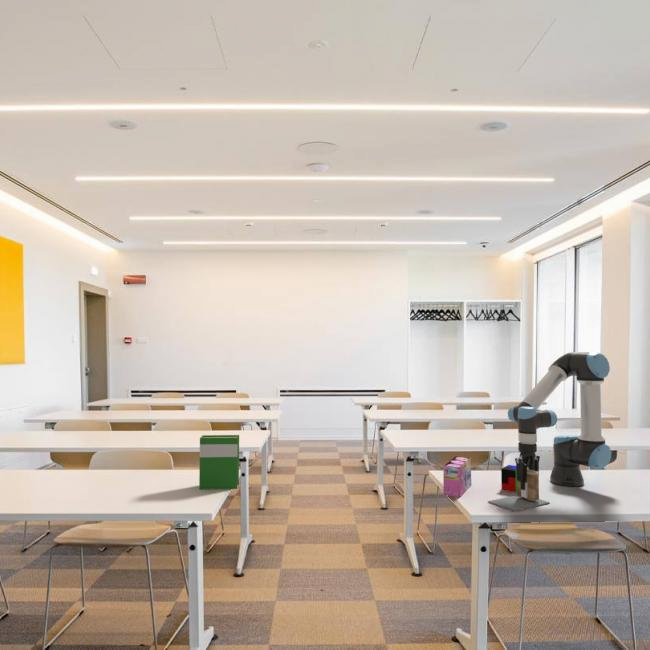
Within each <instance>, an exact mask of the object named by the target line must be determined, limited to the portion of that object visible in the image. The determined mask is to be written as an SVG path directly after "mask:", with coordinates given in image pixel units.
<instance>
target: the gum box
mask: <svg viewBox="0 0 650 650" xmlns="http://www.w3.org/2000/svg"><path fill="white" fill-rule="evenodd" d="M471 460H472V459H471V457H470V456H468V457H467V458H466V457H459V455H455V456H453V457H452V458H451V459H450V460H448V461H447V462H446V463H445V464H443V466H442V467H443V496H448V497H456V498H461V497H462V496H463V495H464V494H465V493H466V492H467V491H468V489H469V488H470V487H471V486H472V465H471V462H472V461H471Z"/></svg>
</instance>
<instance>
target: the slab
mask: <svg viewBox="0 0 650 650" xmlns="http://www.w3.org/2000/svg"><path fill="white" fill-rule="evenodd" d="M539 475H540V471H539V472H538V471H534V470H530V469H527V477H526V482H527V496H528V498H525V497H522V498H525V499H528V500H531V501H535V500H539V499H540V488H539V487H540V485H539V484H540V479H539V477H540V476H539ZM517 491H518V493H517V495H518V497H521V483H520V481H517Z"/></svg>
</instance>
